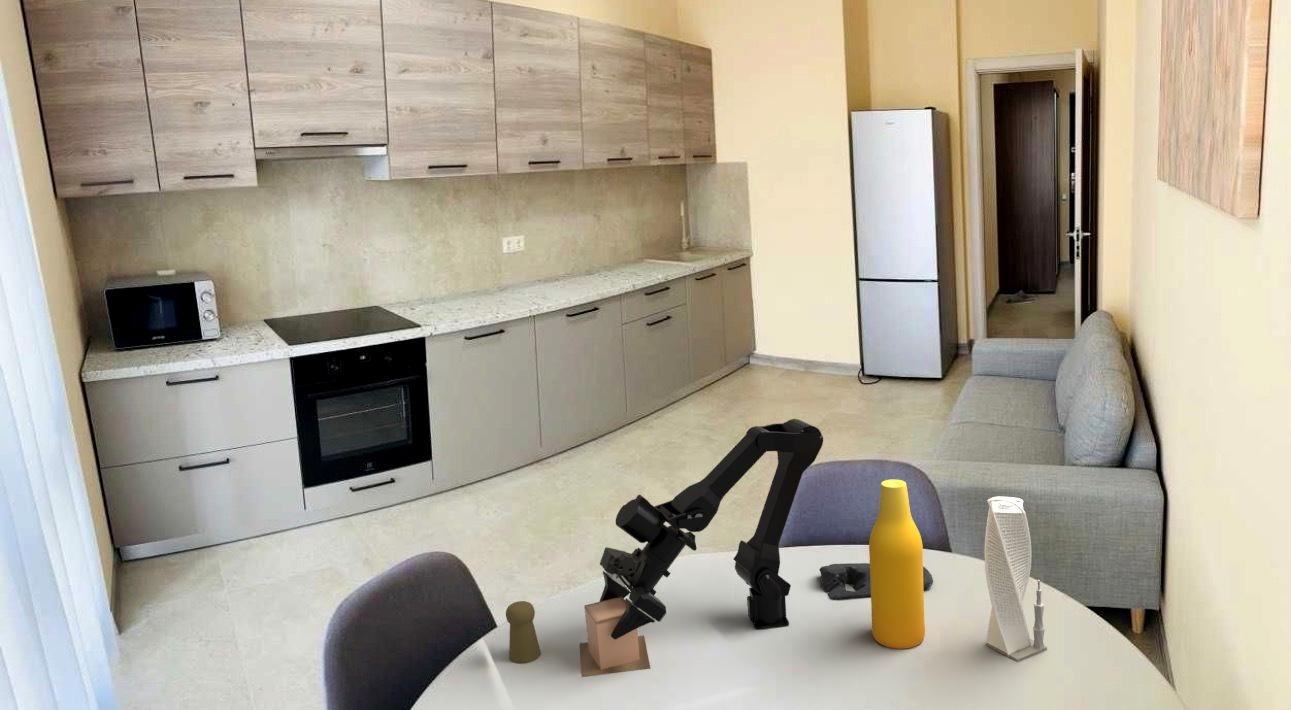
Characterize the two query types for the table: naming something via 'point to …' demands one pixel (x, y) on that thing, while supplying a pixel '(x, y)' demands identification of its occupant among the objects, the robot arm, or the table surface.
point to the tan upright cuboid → (609, 634)
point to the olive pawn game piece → (522, 633)
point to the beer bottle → (896, 571)
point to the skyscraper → (1010, 580)
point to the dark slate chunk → (854, 580)
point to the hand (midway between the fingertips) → (604, 626)
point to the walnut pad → (592, 668)
